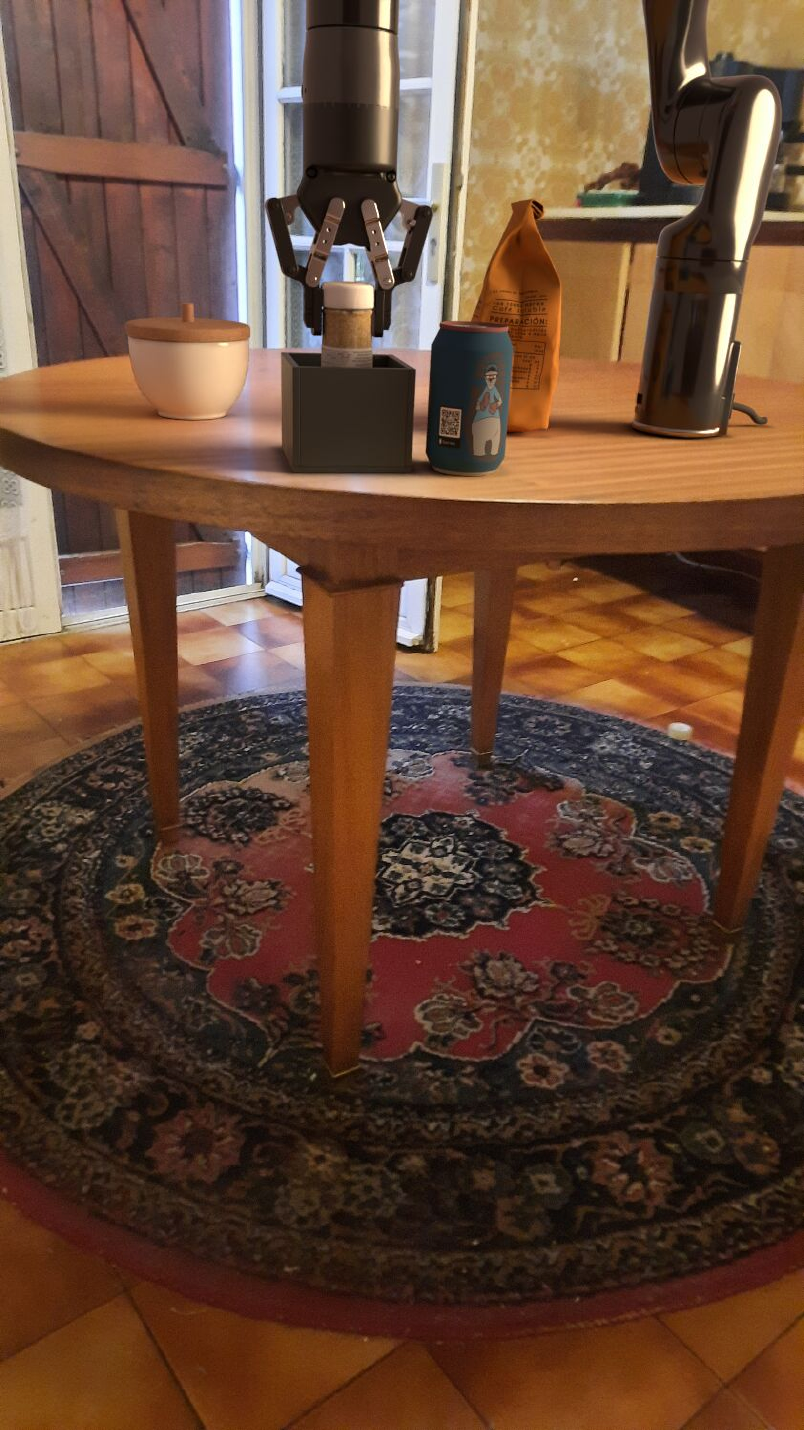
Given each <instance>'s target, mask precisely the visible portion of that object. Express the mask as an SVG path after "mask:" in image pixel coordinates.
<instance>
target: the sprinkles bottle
mask: <svg viewBox="0 0 804 1430" xmlns="http://www.w3.org/2000/svg"><path fill="white" fill-rule="evenodd" d="M320 288H322V336H321V347H320V349H321V350H320V351H321V352H320V353H321V367H359V368H372V354H373V349H374V348H373V336H372V314H373V310H372V308H374V306H375V285H374V284H372V283H368V282H363V281H347V280H345V281H344V280H342V281H341V280H338V281H337V280H334V281H325V282H322V283H321V284H320Z"/></svg>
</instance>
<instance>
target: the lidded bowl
mask: <svg viewBox="0 0 804 1430" xmlns="http://www.w3.org/2000/svg"><path fill="white" fill-rule="evenodd" d="M180 305H181V317H178V316H177V317H172V316H171V317H170V316H169V317H145V318H135V319H130V320H127V321H125V334H126V335H127V345H128V356H129V361H130V362H129V363H130V366H131V367H130V368H131V372H132V375H133V378H134V381H135V384H136V385H137V388H138V390H139V391H140V393H141V395H142V396H143V397H144V399H146V400H147V402H148V403H149V404H150V405H151V406H152V407H153V408H154V409H156V410H157V414H158V416H160V417H162V418H167V419H175V420H189V421H191V420H192V421H193V420H200V421H202V420H214V419H215V420H216V419H220V418H223V417H226V416H227V411H228V410H229V409H230V408H231V407H233V405H234V404H235V403H236V402H237V401H238V399H239V398H240V396H241V394H242V392H243V390H244V387H245V385H246V382H247V377H248V372H249V363H250V338H251V327H250V325H249V324H248V323H246V322H241V321H237V320H236V321H235V320H228V319H227V320H226V319H218V318H207V317H206V318H205V317H195V309H194V303H193V302H181V303H180Z"/></svg>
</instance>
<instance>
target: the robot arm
mask: <svg viewBox="0 0 804 1430" xmlns="http://www.w3.org/2000/svg"><path fill="white" fill-rule="evenodd" d="M709 2H710V0H641V6H642V13H643V14H642V15H643V21H644V29H645V39H646V50H647V52H646V53H647V63H648V65H647V66H648V77H649V90H650V91H649V94H650V108H651V122H652V133H653V141H654V147H655V152H656V156H657V159H658V162H659V165H660V167H661V169H662V171H663V173H664V174H665V175H666V177H667V178H668V179H669V180H671V181H672V182H674V183H676V184H679V185H687V186H704V187H703V191H702V194H701V197H700V200H699V203H697V205H696V206H695V207H694V209H692V210H691V211H690V212H689V213H688V214H686V215H685V216H683V217H682V218H680V219H678V220H676V221H674V222H672V223H670V224H668V225H666V226H664V227H663V229H661V231H660V233H659V236H658V242H657V249H656V257H655V265H654V270H653V271H654V272H653V273H654V274H653V278H652V286H651V295H650V301H649V308H648V316H647V323H646V328H645V329H646V331H645V337H644V338H645V339H644V344H643V351H642V359H641V366H640V373H639V381H638V387H637V391H636V394H635V401H634V403H635V406H634V416H633V418H632V424H631V426H632V428H633V429H635V430H638V431H640V432H644V433H648V434H653V435H659V436H665V437H675V438H677V437H678V438H711V437H716V436H726V435H727V433H728V427H729V422H730V420H731V419H732V413H733V411H737V412H739V413H742V414H745V415H747V417H749V418H750V419H751V421H752V422H753V423H754V424H756V425H759V426H762V425H767V424H768V420H769V419H768V417H767V416H762V417H761V416H759V414H758V413H757V412H756V410H755V409H753V408H752V407H750V406H748V405H745V404H742V403H739V402H735V397H736V393H735V389H736V383H737V382H736V381H737V376H738V370H739V364H740V359H741V355H742V354H741V353H742V349H743V344H742V342H741V341H739V340H737V339H736V337H737V336H736V335H737V331H738V324H739V319H740V313H741V306H742V301H743V295H744V294H743V293H744V289H745V284H746V277H747V272H748V266H749V262H748V261H749V260H750V255H751V250H752V246H753V244H754V242H755V240H756V237H757V235H758V233H759V231H760V228H761V225H762V222H763V219H764V214H765V210H766V205H767V199H768V196H769V191H770V187H771V183H772V178H773V175H774V170H775V166H776V162H777V161H776V160H777V156H778V151H779V146H780V140H781V135H782V134H781V133H782V126H783V125H782V122H783V107H782V100H781V96H780V93H779V90H778V88H777V86H776V85H775V83H774V82H773V81H772V80H771V79H770V78H768V77H766V76H765V75H762V74H761V75H760V74H742V75H730V76H729V75H728V76H719V77H718V76H717V77H713V75H712V72H711V66H710V59H709V50H708V35H707V21H708V20H707V18H708V17H707V16H708V9H709ZM399 21H400V0H305V30H306V31H305V43H304V51H303V58H302V84H301V87H300V95H301V99H302V176H301V181H300V183H299V185H298V187H297V189H296V193H293V194H289V195H285V196H281V197H269V198H267V199H266V200H265V202H264V209H265V213H266V217H267V222H268V225H269V229H270V232H271V236H272V240H273V244H274V248H275V251H276V256H277V259H278V263H279V266H280V271H281V273H282V274H283V275H284V276H285V277H287V278H290V279H292V280H294V281H297V282H299V284H300V285H301V287H302V321H303V324H304V327H305V328H307V329H310V334H311V335H312V336H313V337H322V309H323V307H322V288H320V286H321V284H320V283H321V281H322V276H323V273H324V271H325V267H326V264H327V261H328V260H329V257H330V255H331V251H332V248H333V246H336V247H342V246H345V245H352V246H355V247H363V248H364V249H365V254H366V257H367V260H368V262H369V265H370V268H371V272H372V276H373V279H374V288H375V306H374V308H372V310H373V314H372V338H384V331H389V330H390V328H391V325H392V309H393V308H392V304H393V291H394V290H395V288H396V287H398V286H400V285H403V284H405V283H411V282H413V281H414V280H415V278H416V276H417V271H418V268H419V265H420V262H421V258H422V255H423V252H424V249H425V244H426V241H427V238H428V234H429V231H430V227H431V223H432V221H433V217H434V210H433V208H432V207H431V206H430V205H427V204H418V203H415V202H413V201H410V200H407V199H404V198H403V195H402V192H401V190H400V188H399V184H398V149H399V147H398V145H399V121H400V117H399V116H400V94H401V93H400V90H401V88H400V87H401V64H400V53H399V52H400V51H399V50H400V49H399V37H398V36H399ZM297 208H300V210H301V211H302V213H303V214H304V216H305V218H306V219H307V221H308V222H309V224H310V225H311V227H312V229H313V230H314V235H313V237H312V242H311V244H310V248H309V253H308V257H307V260H306V263H305V266H303V265H300V264H299V263H298V262H297V257H296V253H295V250H294V246H293V242H292V238H291V233H290V230H289V226H291V225H293V223H294V222H295V220H296V219H295V217H296V216H295V212H296V209H297ZM398 213H400V215H401V218H402V220H401V225H402V228H403V229H404V230H405V231H406V234H405V238H404V241H403V244H402V250H401V251H400V255H399V259H398V263H397V266H395V267H393V268H392V267H391V264H390V258H389V252H388V248H387V244H386V240H385V237H384V233H385V232H386V230H387V229H388V227H389V226H390V225H391V223H392V221H393V220H394V219H395V217H396V216H397V214H398Z"/></svg>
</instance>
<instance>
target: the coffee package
mask: <svg viewBox="0 0 804 1430" xmlns="http://www.w3.org/2000/svg"><path fill="white" fill-rule="evenodd" d="M510 206H511V212H512V214H511V216H510V219H509V221H508V222H507V225H506V227H505V229H504V231H503V233H502V235H501V237H500V239H499V242H498V244H497V245H496V248H495V249H494V252H493V254H492V255H491V256H492V257H491V258H490V260H489V263H488V265H487V268H486V270H485V275H484V278H483V281H482V288H481V290H480V291H481V292H480V294H479V296H478V299H477V302H476V305H475V308H474V311H473V314H472V317H471V320H470V321H472V322H487V323H497V324H503V325H507V326H508V331H507V332H508V335H509V338H510V340H511V343H512V346H513V349H514V350H513V362H512V374H511V386H510V398H509V410H508V422H507V433H520V432H534V431H539V430H547V429H548V427H549V425H550V424H549V422H550V416H551V413H552V412H551V411H552V405H553V400H554V395H555V391H556V387H557V384H558V377H559V372H560V357H561V329H562V283H561V280H560V276H559V273H558V271H557V269H556V266H555V264H554V262H553V259H552V257H551V255H550V253H549V250H548V248H547V247H546V245H545V243H544V241H543V238H542V237H541V234H540V232H539V229H538V225H537V223H536V221H537V220H540V219H542V218H543V217H544V216H545V214H546V210H545V206H544V204H543V203H542V202H541V201H540V200H537V199H536V198H533V197H532V198H529V199H522V200H518V201H514V202H511V203H510Z"/></svg>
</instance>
